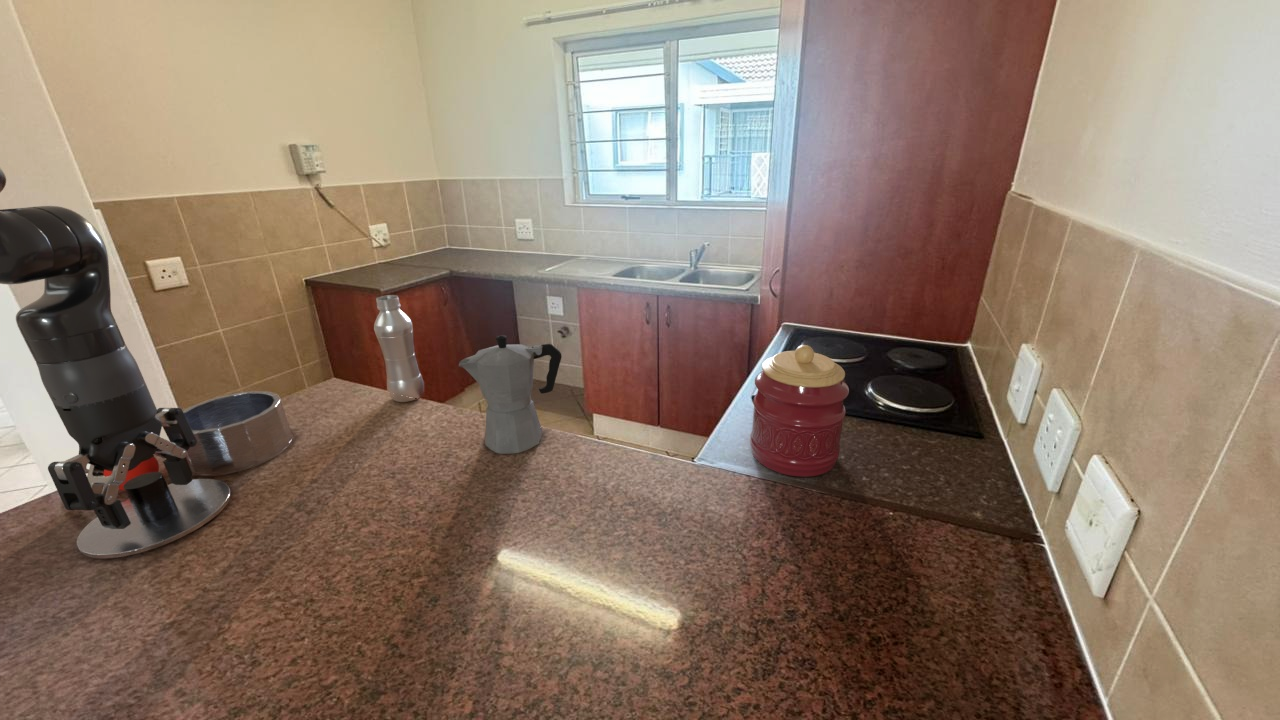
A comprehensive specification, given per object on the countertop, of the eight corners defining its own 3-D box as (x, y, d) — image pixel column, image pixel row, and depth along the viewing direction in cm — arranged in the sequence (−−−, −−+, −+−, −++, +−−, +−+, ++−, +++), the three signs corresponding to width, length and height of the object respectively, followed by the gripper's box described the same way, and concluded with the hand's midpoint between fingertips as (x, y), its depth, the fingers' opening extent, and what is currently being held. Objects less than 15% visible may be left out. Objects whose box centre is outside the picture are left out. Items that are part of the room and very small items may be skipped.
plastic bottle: (415, 388, 101) (395, 291, 93) (433, 397, 97) (414, 296, 89) (383, 399, 96) (359, 298, 88) (400, 409, 92) (377, 304, 84)
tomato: (100, 498, 69) (81, 462, 67) (139, 474, 74) (123, 440, 72) (139, 499, 69) (121, 462, 66) (175, 475, 74) (160, 440, 72)
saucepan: (161, 477, 73) (141, 432, 71) (234, 430, 86) (219, 390, 83) (251, 478, 73) (234, 433, 70) (311, 430, 85) (299, 391, 83)
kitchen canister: (845, 483, 69) (865, 366, 63) (750, 474, 72) (759, 360, 65) (830, 435, 81) (845, 332, 75) (748, 429, 83) (756, 329, 77)
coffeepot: (475, 464, 75) (456, 352, 68) (469, 434, 83) (452, 332, 76) (574, 442, 80) (566, 337, 74) (560, 416, 89) (552, 319, 82)
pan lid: (43, 561, 58) (17, 518, 56) (159, 485, 72) (142, 448, 69) (164, 563, 57) (143, 520, 55) (258, 486, 71) (244, 448, 69)
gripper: (129, 364, 64) (175, 471, 70) (-8, 418, 51) (63, 543, 57) (185, 364, 64) (227, 471, 70) (62, 419, 51) (126, 544, 57)
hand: (153, 503), depth 64 cm, fingers open, 8 cm apart
